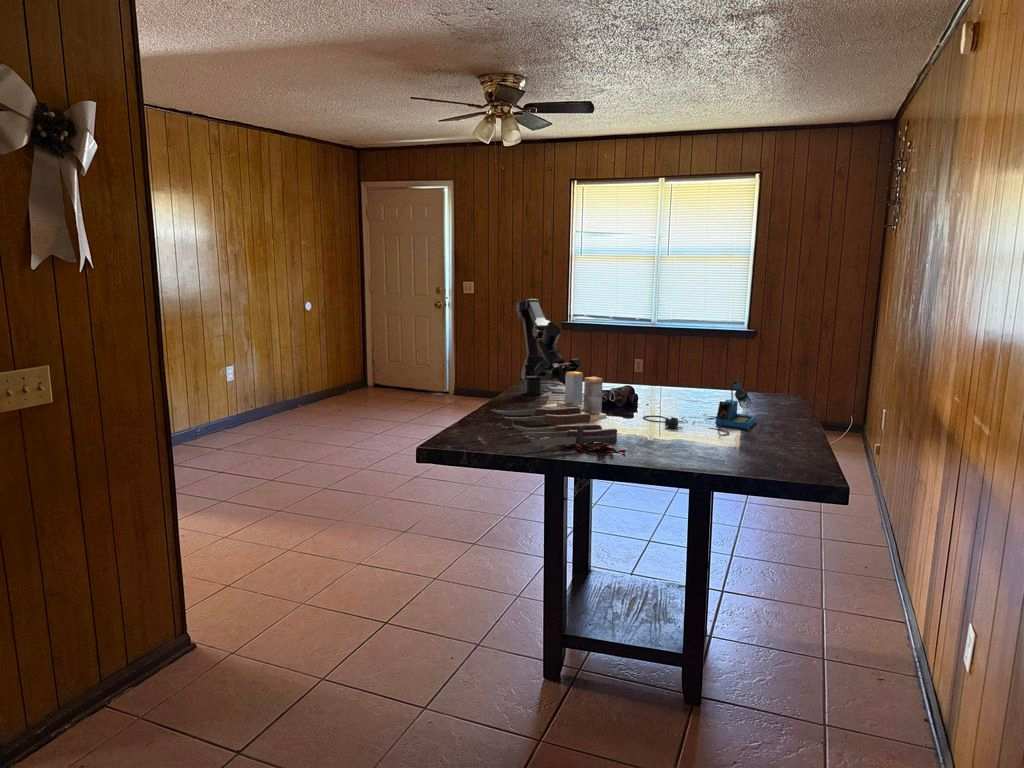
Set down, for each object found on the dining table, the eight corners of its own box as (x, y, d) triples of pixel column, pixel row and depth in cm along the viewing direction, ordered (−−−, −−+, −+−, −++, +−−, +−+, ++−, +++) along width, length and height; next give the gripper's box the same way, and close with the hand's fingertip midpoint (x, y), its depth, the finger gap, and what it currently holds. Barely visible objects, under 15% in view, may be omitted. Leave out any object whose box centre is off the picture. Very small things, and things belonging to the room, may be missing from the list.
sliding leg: (553, 407, 251) (554, 373, 248) (574, 404, 256) (574, 371, 254) (561, 409, 247) (562, 375, 245) (581, 406, 253) (582, 372, 250)
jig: (541, 408, 257) (542, 371, 254) (564, 405, 263) (565, 369, 260) (582, 421, 238) (583, 381, 236) (606, 417, 244) (607, 378, 242)
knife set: (488, 423, 230) (489, 400, 229) (579, 421, 241) (581, 399, 240) (524, 455, 198) (526, 429, 196) (627, 451, 209) (630, 426, 207)
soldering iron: (631, 424, 236) (634, 371, 232) (662, 407, 262) (665, 359, 259) (737, 440, 218) (742, 383, 215) (759, 420, 245) (764, 369, 241)
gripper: (559, 363, 271) (577, 396, 264) (520, 367, 261) (537, 401, 254) (573, 345, 263) (591, 378, 257) (533, 348, 253) (551, 383, 246)
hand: (568, 386), depth 254 cm, fingers closed, pressing on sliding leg
